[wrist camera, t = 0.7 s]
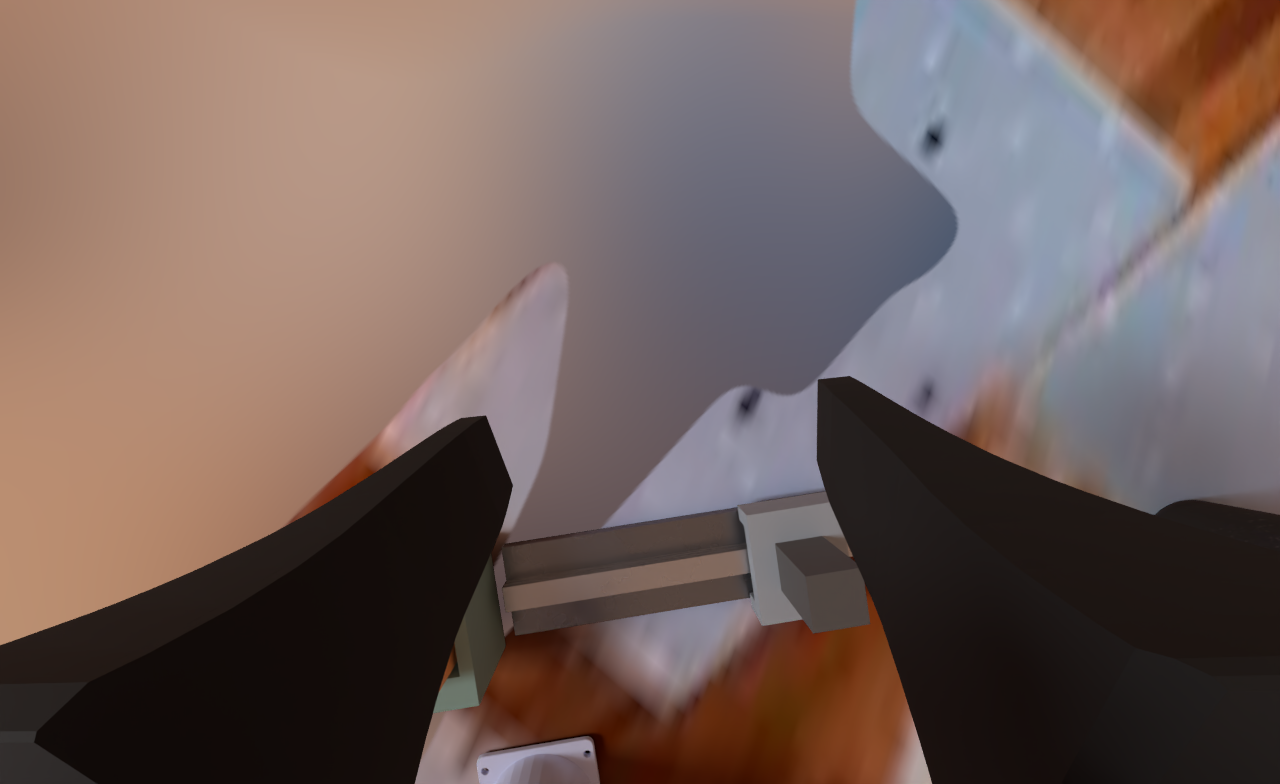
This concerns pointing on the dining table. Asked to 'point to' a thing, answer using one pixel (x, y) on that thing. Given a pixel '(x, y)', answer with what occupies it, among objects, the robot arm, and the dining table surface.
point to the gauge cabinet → (475, 648)
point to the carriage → (802, 564)
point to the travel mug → (1227, 521)
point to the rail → (626, 571)
